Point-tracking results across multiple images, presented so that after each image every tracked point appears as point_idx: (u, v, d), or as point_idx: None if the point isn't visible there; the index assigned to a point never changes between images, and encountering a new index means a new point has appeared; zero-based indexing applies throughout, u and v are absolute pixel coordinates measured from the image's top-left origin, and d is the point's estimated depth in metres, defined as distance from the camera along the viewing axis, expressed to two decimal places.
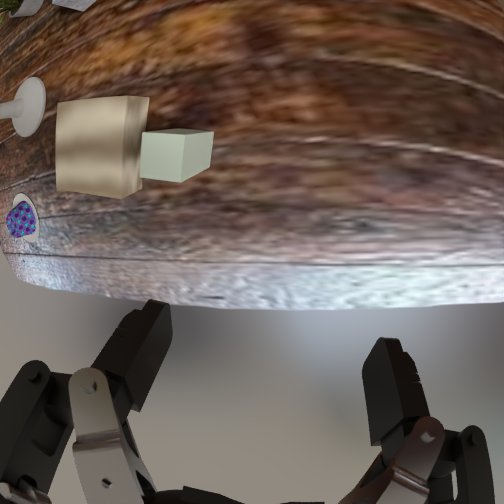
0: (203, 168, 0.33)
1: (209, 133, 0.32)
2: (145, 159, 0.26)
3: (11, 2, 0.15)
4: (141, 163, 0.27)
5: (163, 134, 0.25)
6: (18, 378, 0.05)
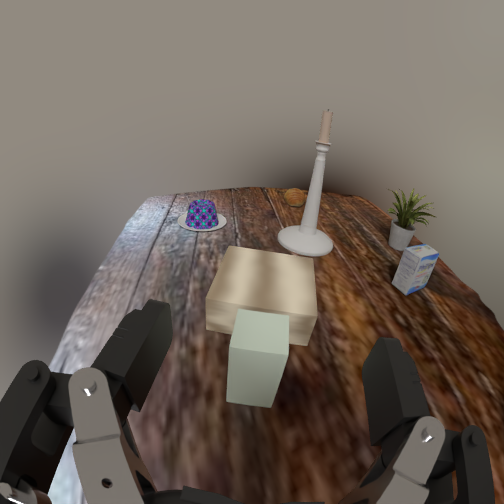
0: (229, 390, 0.26)
1: (271, 400, 0.26)
2: (258, 316, 0.26)
3: (406, 218, 0.61)
4: (253, 312, 0.26)
5: (287, 334, 0.24)
6: (18, 378, 0.05)
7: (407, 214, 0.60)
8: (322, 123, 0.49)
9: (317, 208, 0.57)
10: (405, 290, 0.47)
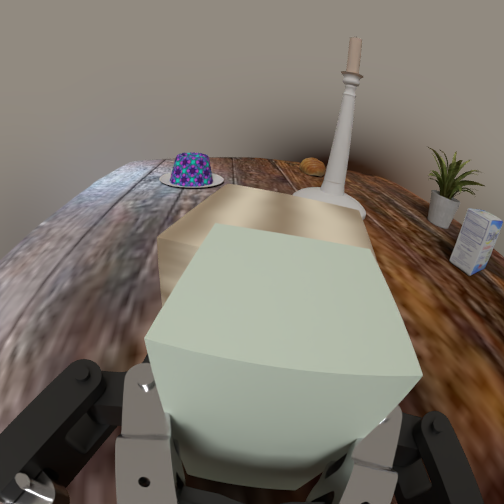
0: (188, 462, 0.08)
1: (302, 482, 0.08)
2: (279, 242, 0.08)
3: (449, 186, 0.43)
4: (264, 233, 0.08)
5: (389, 297, 0.06)
6: (65, 374, 0.06)
7: (451, 181, 0.42)
8: (350, 51, 0.31)
9: (346, 158, 0.39)
10: (469, 269, 0.29)
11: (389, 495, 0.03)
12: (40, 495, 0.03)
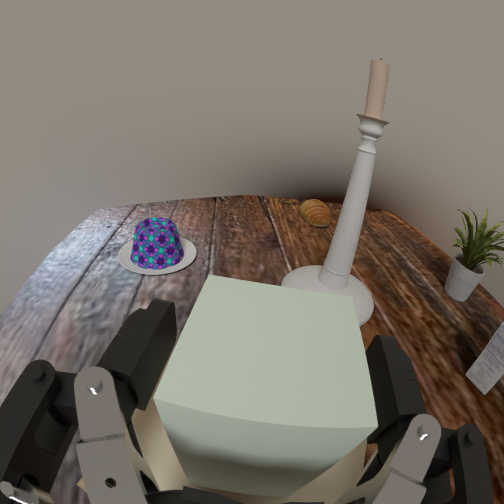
0: (190, 474, 0.09)
1: (290, 492, 0.09)
2: (266, 295, 0.09)
3: (475, 254, 0.34)
4: (253, 285, 0.09)
5: (361, 351, 0.07)
6: (23, 377, 0.05)
7: (478, 249, 0.33)
8: (371, 82, 0.22)
9: (355, 242, 0.30)
10: (485, 389, 0.19)
11: None
12: (26, 503, 0.02)
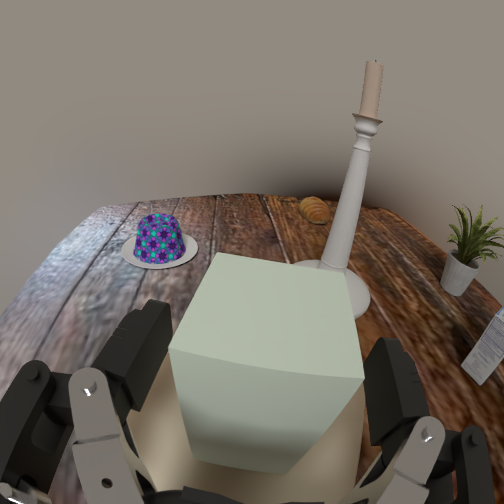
0: (194, 445, 0.10)
1: (289, 466, 0.10)
2: (267, 269, 0.10)
3: (470, 249, 0.35)
4: (256, 261, 0.10)
5: (350, 316, 0.08)
6: (18, 378, 0.05)
7: (473, 244, 0.34)
8: (366, 82, 0.23)
9: (352, 236, 0.31)
10: (481, 380, 0.20)
11: None
12: None
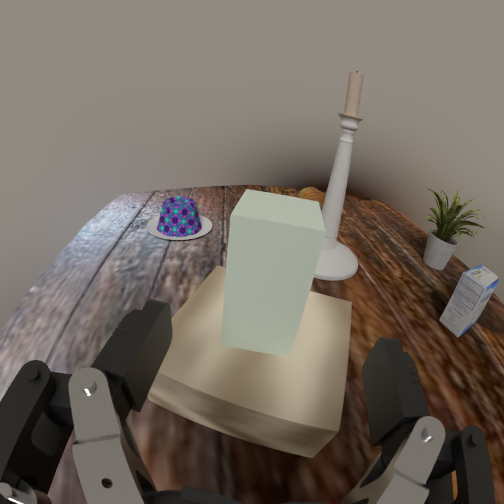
0: (226, 319, 0.18)
1: (291, 339, 0.18)
2: (275, 196, 0.18)
3: (447, 228, 0.43)
4: (268, 193, 0.18)
5: (320, 214, 0.16)
6: (18, 378, 0.05)
7: (450, 223, 0.42)
8: (349, 89, 0.31)
9: (340, 211, 0.39)
10: (458, 331, 0.28)
11: None
12: None
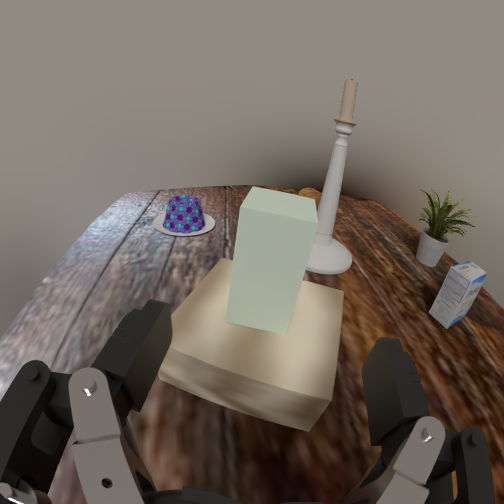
0: (231, 298, 0.21)
1: (287, 317, 0.21)
2: (277, 193, 0.21)
3: (439, 226, 0.46)
4: (272, 190, 0.21)
5: (314, 209, 0.19)
6: (18, 378, 0.05)
7: (441, 222, 0.45)
8: (344, 96, 0.34)
9: (335, 210, 0.42)
10: (446, 323, 0.31)
11: None
12: None
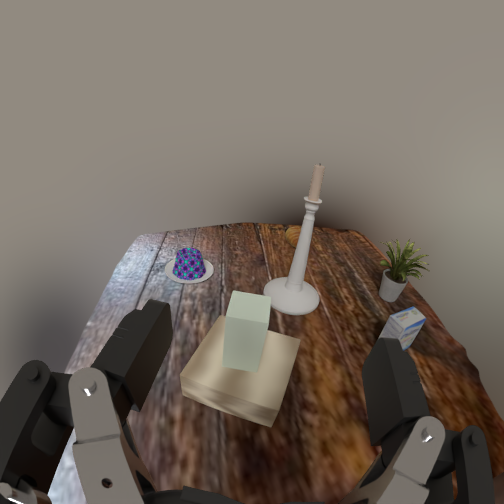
0: (224, 355, 0.35)
1: (257, 364, 0.35)
2: (248, 296, 0.35)
3: (398, 270, 0.60)
4: (244, 293, 0.35)
5: (269, 309, 0.33)
6: (18, 378, 0.05)
7: (400, 267, 0.59)
8: (312, 179, 0.48)
9: (304, 266, 0.56)
10: None
11: None
12: None
